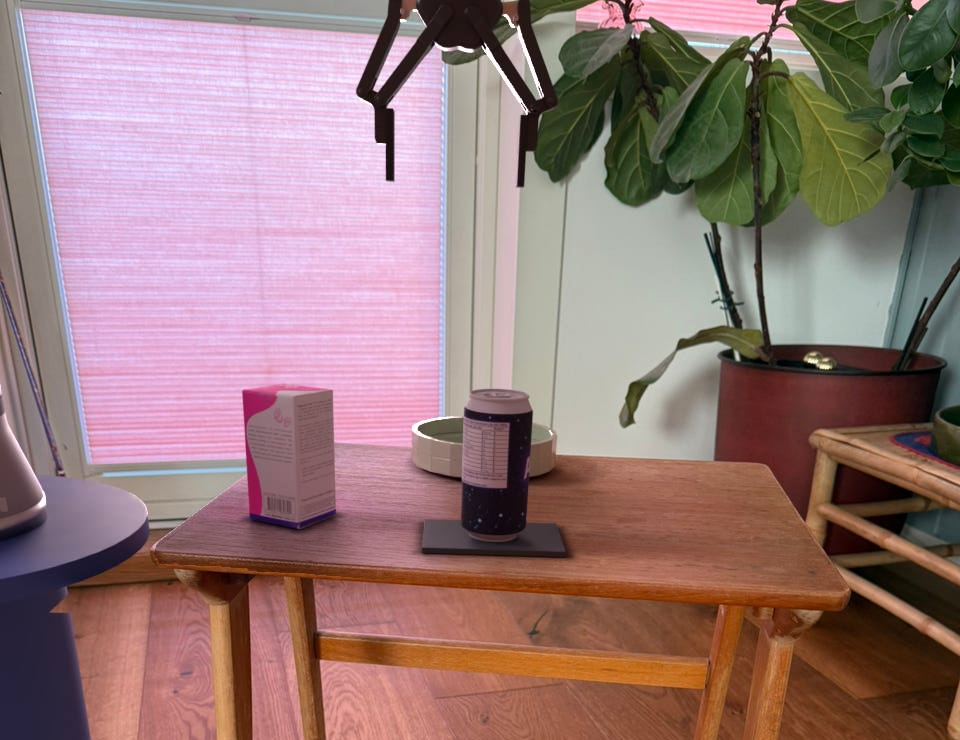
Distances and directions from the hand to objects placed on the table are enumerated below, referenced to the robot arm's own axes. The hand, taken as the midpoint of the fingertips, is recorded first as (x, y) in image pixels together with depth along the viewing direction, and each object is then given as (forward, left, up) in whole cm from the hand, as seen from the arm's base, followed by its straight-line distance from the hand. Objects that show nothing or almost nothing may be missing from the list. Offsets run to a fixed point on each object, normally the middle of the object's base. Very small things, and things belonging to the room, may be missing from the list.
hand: (455, 184), depth 95 cm
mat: (+4, -31, -29) cm, 42 cm away
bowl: (+4, -4, -29) cm, 29 cm away
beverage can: (+4, -31, -28) cm, 42 cm away
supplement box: (-14, -26, -29) cm, 41 cm away
